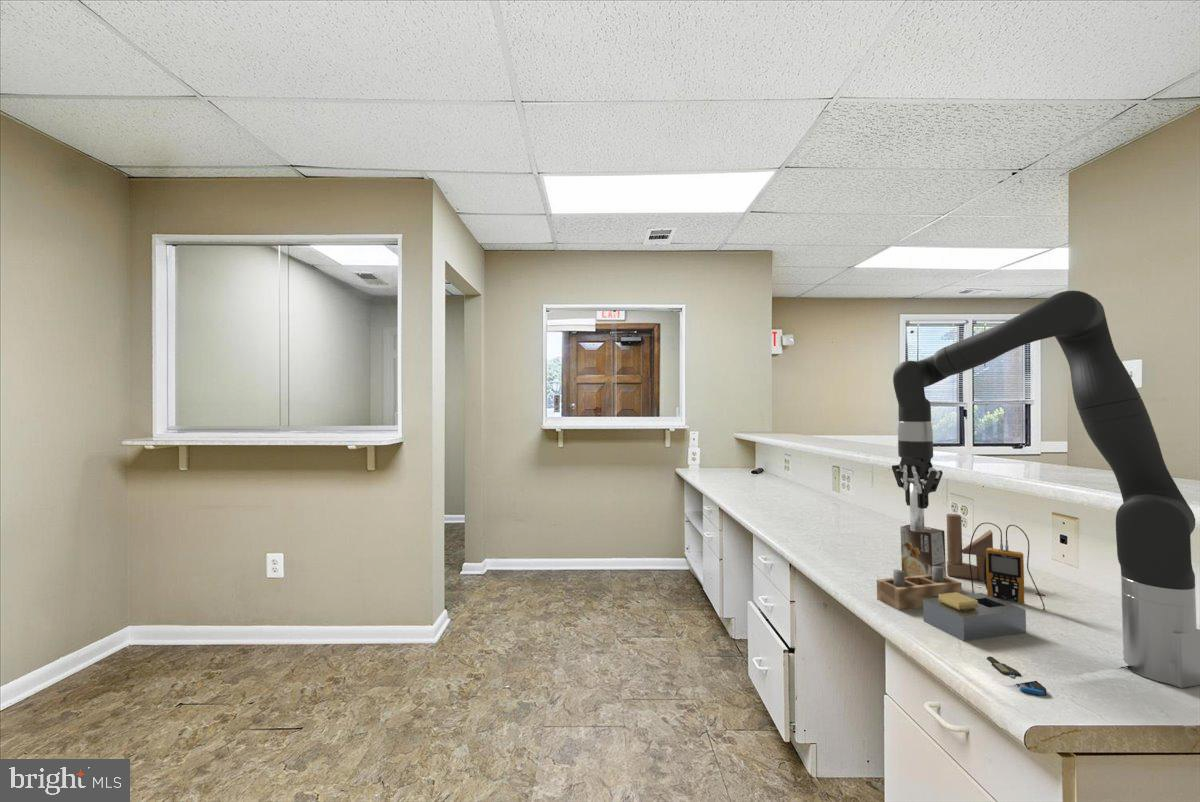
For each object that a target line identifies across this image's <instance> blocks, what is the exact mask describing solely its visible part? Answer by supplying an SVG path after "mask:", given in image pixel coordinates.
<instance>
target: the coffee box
mask: <svg viewBox="0 0 1200 802" xmlns="http://www.w3.org/2000/svg"><path fill="white" fill-rule="evenodd" d="M899 534H900V552H901V553H900V554H901V555H900V556H901V561H900V562H901V570H902V571H904V575H905V577H908V576H918V575H928V574H932V566H939V567H942V568H943V576H945V577H947V561H946V542H945V541H946V538H945V536H946V535H945V530H944V529H938V528H933V527H930V526H925V525H924V532H914V531H911V530H910V524H906V525H903V526H900V533H899Z"/></svg>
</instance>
